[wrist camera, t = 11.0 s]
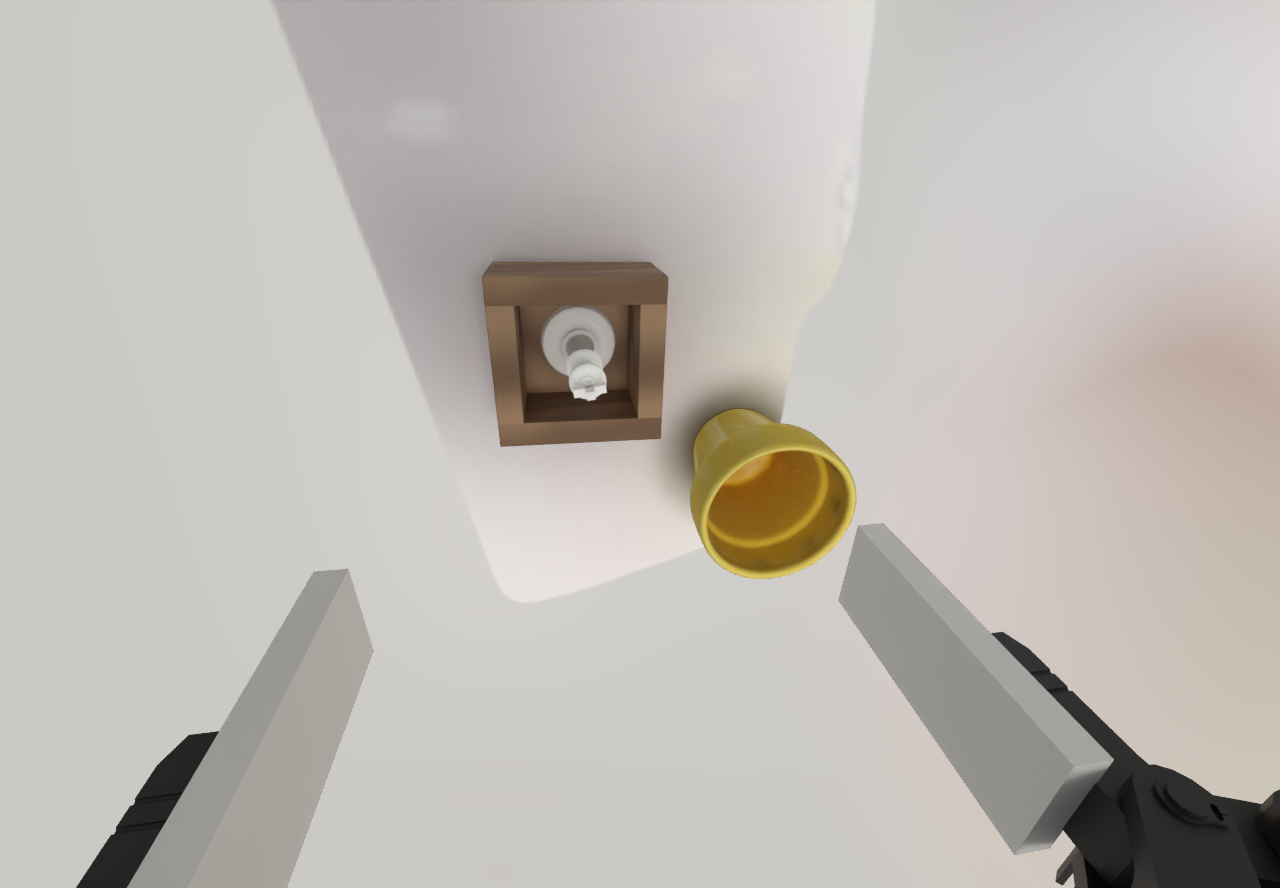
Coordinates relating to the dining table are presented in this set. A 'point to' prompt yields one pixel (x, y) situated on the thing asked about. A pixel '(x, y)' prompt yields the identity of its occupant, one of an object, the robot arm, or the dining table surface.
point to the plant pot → (767, 495)
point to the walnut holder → (541, 395)
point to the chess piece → (579, 347)
